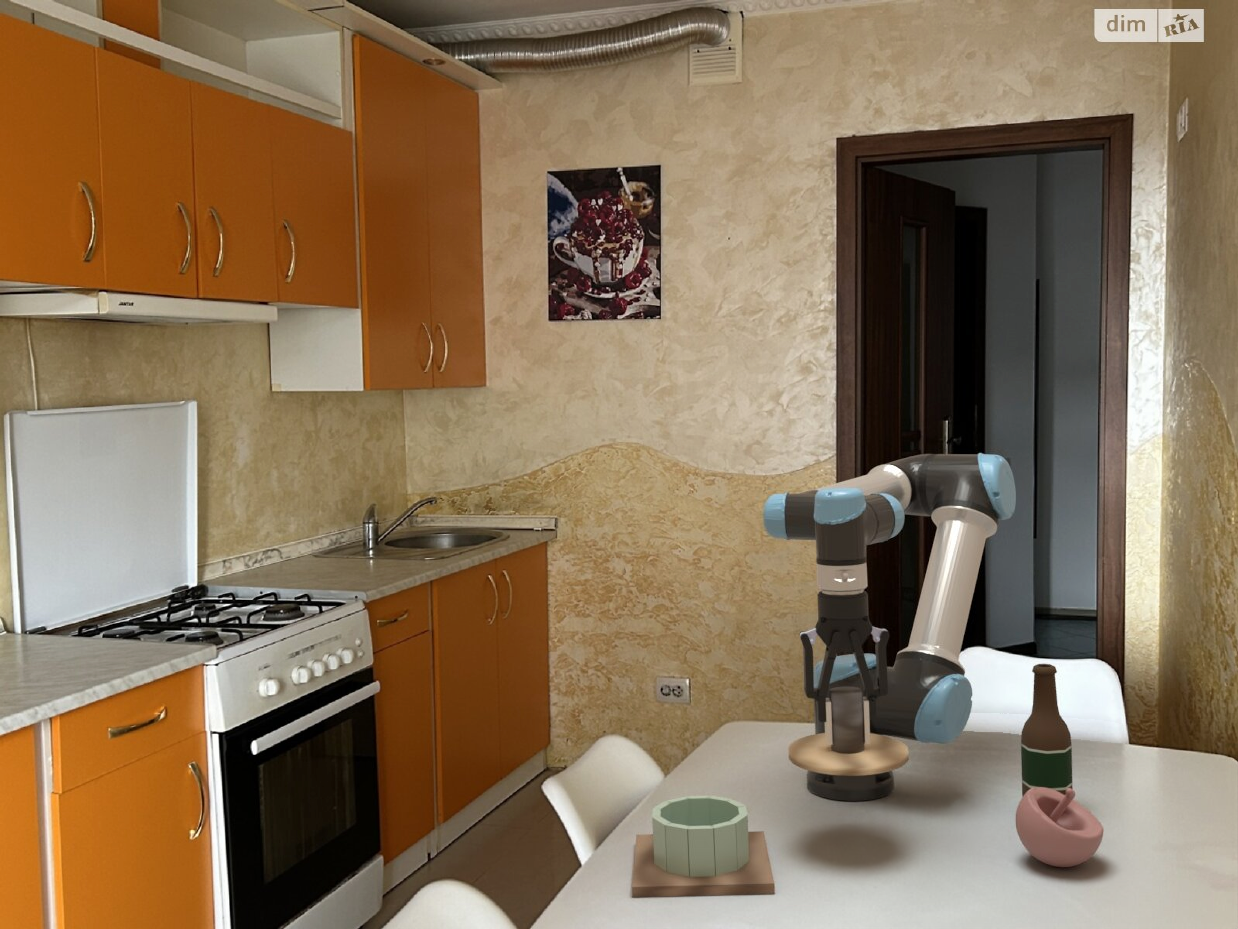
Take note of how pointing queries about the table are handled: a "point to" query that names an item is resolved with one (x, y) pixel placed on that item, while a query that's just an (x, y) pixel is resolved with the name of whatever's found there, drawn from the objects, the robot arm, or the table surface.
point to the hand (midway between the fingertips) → (847, 741)
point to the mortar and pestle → (1057, 827)
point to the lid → (848, 742)
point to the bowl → (700, 836)
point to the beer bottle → (1046, 738)
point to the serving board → (740, 882)
